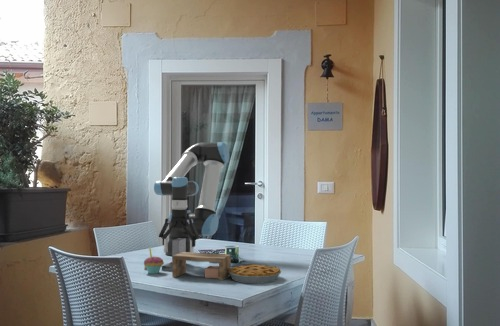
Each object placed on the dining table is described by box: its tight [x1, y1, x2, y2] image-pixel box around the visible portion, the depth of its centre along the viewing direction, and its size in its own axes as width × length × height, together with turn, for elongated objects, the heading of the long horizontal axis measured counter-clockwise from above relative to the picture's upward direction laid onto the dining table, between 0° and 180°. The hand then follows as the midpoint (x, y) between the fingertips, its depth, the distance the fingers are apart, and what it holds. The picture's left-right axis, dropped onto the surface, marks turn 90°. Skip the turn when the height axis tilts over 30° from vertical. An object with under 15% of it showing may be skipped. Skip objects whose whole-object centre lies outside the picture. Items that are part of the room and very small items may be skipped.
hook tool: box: [161, 238, 186, 272], centre depth 249 cm, size 21×9×12 cm, turn 164°
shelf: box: [171, 252, 232, 281], centre depth 228 cm, size 11×22×9 cm, turn 74°
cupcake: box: [143, 245, 165, 275], centre depth 235 cm, size 9×8×12 cm
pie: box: [229, 264, 282, 284], centre depth 224 cm, size 22×22×5 cm
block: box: [204, 265, 219, 279], centre depth 228 cm, size 6×6×4 cm
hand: (178, 252), depth 256 cm, fingers open, 13 cm apart
